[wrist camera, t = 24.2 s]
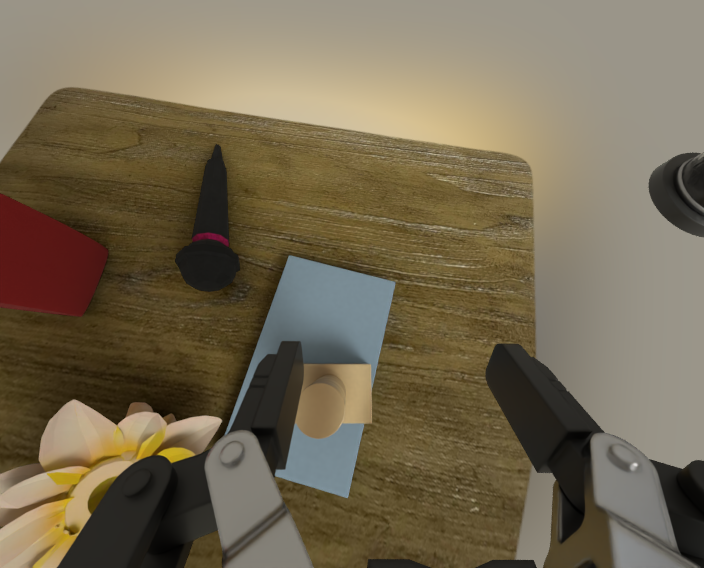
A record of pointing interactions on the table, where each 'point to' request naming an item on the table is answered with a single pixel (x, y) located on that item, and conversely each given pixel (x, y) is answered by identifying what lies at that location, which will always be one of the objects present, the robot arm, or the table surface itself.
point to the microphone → (210, 234)
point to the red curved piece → (45, 262)
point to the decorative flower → (83, 475)
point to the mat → (324, 354)
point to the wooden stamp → (334, 397)
